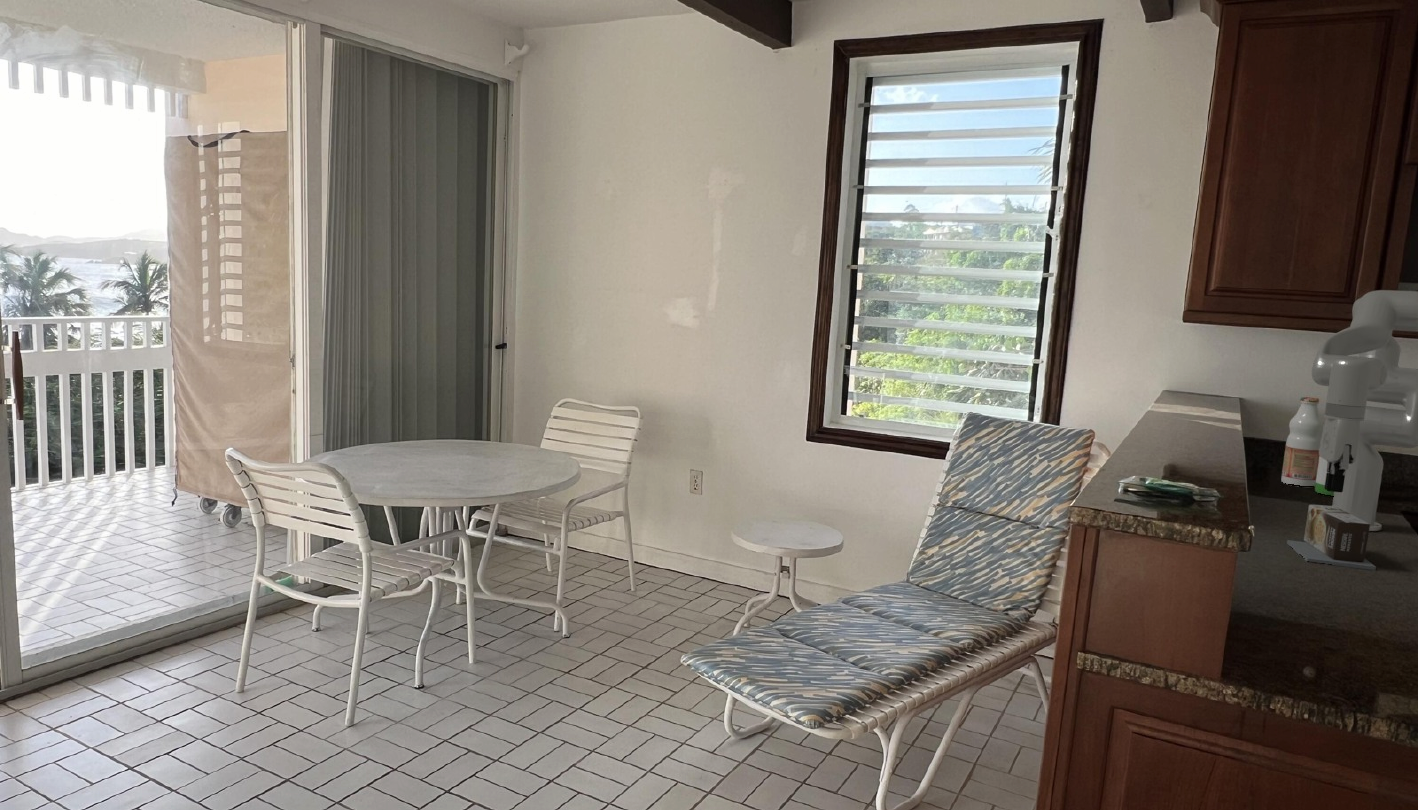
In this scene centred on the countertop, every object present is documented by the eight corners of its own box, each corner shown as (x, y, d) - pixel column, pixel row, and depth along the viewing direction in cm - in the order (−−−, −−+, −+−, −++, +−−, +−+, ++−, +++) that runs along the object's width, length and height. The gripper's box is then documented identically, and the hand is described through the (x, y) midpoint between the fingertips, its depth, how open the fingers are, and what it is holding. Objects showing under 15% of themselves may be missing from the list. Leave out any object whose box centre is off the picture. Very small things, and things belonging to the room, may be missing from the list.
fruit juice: (1273, 481, 294) (1285, 395, 290) (1297, 481, 296) (1309, 396, 292) (1298, 487, 285) (1310, 399, 281) (1322, 487, 287) (1335, 400, 283)
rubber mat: (1286, 543, 218) (1287, 540, 218) (1349, 550, 214) (1350, 547, 214) (1307, 562, 203) (1307, 558, 203) (1375, 570, 199) (1375, 566, 199)
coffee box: (1307, 503, 217) (1338, 519, 201) (1337, 506, 216) (1370, 522, 200) (1302, 541, 218) (1332, 560, 203) (1332, 543, 217) (1365, 563, 201)
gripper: (1315, 407, 215) (1304, 482, 218) (1336, 415, 201) (1325, 495, 204) (1352, 410, 213) (1341, 486, 215) (1376, 418, 199) (1364, 499, 201)
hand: (1333, 490), depth 209 cm, fingers closed
